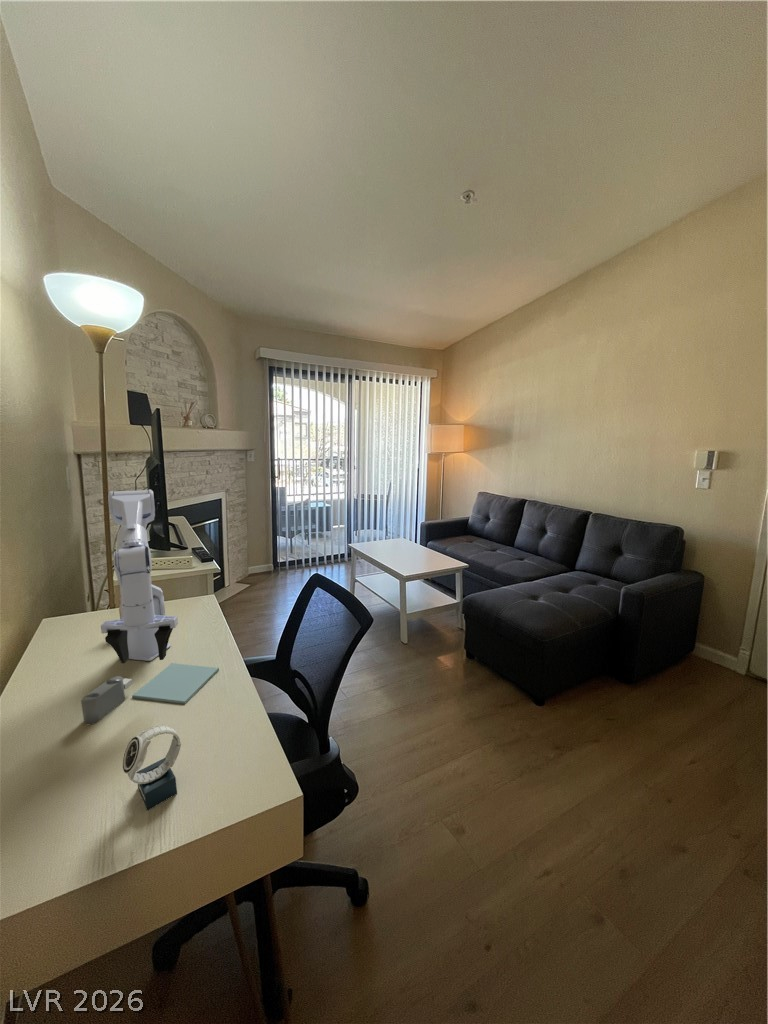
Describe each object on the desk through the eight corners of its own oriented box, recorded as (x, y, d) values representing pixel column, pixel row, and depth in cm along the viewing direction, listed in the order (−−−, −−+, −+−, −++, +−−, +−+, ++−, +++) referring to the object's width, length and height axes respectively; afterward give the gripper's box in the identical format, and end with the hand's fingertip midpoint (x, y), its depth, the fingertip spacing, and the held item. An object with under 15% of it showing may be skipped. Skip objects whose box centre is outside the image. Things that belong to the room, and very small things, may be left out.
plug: (80, 723, 79) (77, 701, 78) (123, 690, 90) (121, 670, 89) (93, 725, 79) (90, 703, 78) (135, 691, 90) (133, 671, 89)
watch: (124, 795, 63) (116, 736, 61) (177, 767, 69) (172, 711, 67) (132, 819, 59) (124, 756, 57) (188, 787, 65) (183, 728, 63)
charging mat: (132, 697, 87) (132, 695, 87) (172, 665, 100) (171, 663, 100) (185, 703, 86) (185, 701, 85) (218, 670, 98) (218, 667, 98)
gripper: (90, 611, 79) (98, 672, 82) (167, 606, 82) (173, 665, 84) (107, 598, 86) (114, 655, 88) (178, 593, 89) (183, 649, 91)
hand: (144, 659), depth 87 cm, fingers open, 7 cm apart
